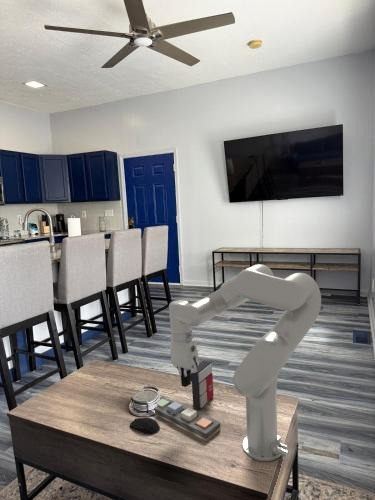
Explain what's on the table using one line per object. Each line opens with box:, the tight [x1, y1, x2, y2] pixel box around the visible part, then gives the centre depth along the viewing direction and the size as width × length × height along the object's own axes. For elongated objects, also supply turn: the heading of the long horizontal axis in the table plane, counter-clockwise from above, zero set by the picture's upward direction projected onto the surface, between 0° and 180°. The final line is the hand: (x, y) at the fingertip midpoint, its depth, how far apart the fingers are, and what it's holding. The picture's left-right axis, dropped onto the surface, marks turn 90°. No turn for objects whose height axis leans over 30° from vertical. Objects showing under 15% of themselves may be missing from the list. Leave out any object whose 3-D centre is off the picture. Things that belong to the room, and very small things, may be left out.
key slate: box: [167, 401, 184, 415], centre depth 133 cm, size 4×4×2 cm
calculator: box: [190, 360, 214, 410], centre depth 142 cm, size 11×4×15 cm, turn 147°
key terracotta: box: [196, 418, 212, 430], centre depth 124 cm, size 4×4×2 cm
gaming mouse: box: [128, 417, 161, 436], centre depth 128 cm, size 6×15×4 cm, turn 63°
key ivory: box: [181, 407, 198, 422], centre depth 128 cm, size 4×4×2 cm
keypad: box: [154, 396, 222, 442], centre depth 131 cm, size 29×8×3 cm, turn 48°
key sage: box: [157, 399, 170, 409], centre depth 138 cm, size 4×4×2 cm
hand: (186, 385), depth 128 cm, fingers closed
